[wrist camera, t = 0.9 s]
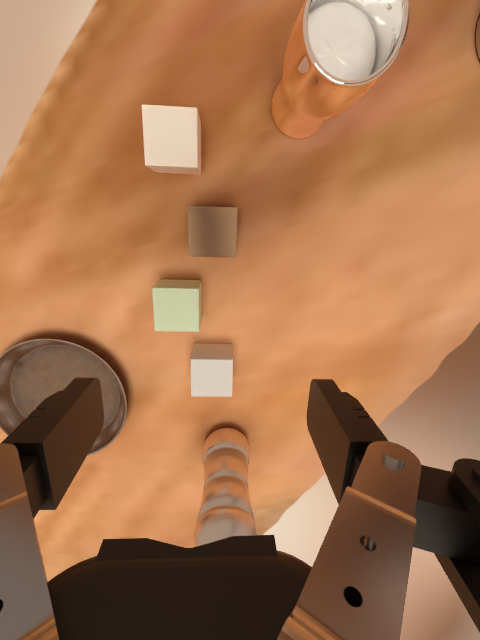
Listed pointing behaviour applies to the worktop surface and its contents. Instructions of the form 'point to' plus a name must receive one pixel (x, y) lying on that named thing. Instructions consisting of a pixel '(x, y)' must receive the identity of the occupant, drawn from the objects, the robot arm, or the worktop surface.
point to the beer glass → (335, 59)
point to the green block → (177, 305)
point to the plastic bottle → (225, 489)
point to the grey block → (211, 369)
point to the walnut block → (212, 231)
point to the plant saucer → (56, 383)
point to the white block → (172, 139)
